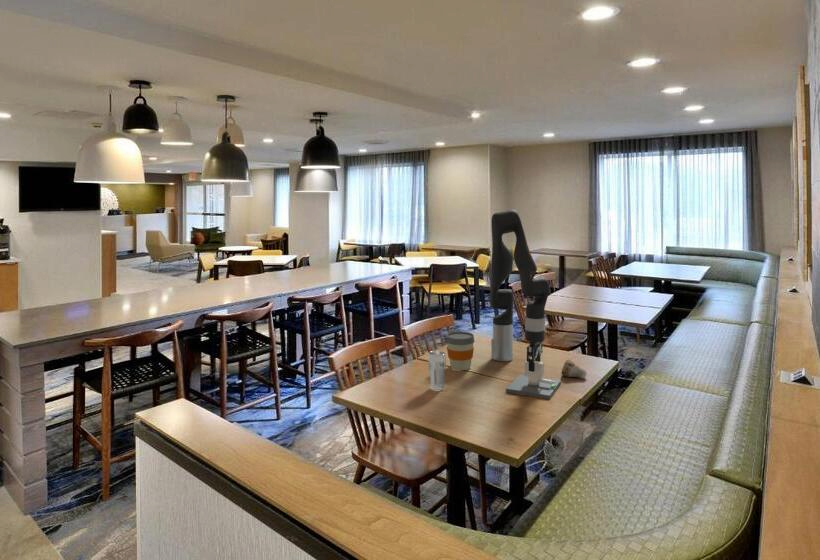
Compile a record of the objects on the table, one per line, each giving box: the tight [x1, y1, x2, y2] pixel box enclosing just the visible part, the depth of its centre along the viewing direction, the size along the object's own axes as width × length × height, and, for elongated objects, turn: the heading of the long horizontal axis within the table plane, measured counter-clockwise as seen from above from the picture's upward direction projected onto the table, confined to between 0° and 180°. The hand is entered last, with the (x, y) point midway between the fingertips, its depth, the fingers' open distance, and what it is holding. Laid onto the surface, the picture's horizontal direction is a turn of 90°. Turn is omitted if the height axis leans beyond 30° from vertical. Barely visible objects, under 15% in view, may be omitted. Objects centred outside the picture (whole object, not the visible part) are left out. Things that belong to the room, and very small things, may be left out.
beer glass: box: [427, 350, 447, 391], centre depth 207 cm, size 7×7×15 cm
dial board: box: [505, 374, 562, 400], centre depth 206 cm, size 17×18×2 cm
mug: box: [560, 359, 587, 380], centre depth 218 cm, size 8×10×10 cm
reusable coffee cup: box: [445, 331, 475, 371], centre depth 232 cm, size 13×13×15 cm
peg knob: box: [524, 359, 551, 386], centre depth 205 cm, size 10×4×9 cm, turn 59°
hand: (534, 367), depth 205 cm, fingers open, 8 cm apart
